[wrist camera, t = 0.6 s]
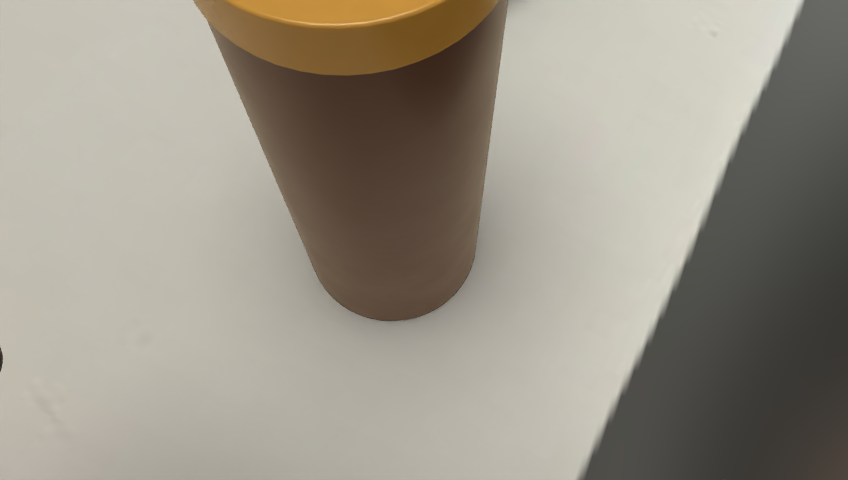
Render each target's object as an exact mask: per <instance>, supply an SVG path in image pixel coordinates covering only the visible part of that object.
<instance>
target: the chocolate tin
mask: <svg viewBox="0 0 848 480" xmlns="http://www.w3.org/2000/svg"><path fill="white" fill-rule="evenodd" d="M193 1H194V3H195V4H196V6H197V7H198V8H199V10H200V11H201V13H202V14H203V15H204V17H205V18H206V19H207V21H208V23H209V26H210V28H211V30H212V32H213V35H214V37H215V39H216V42H217V44H218V46H219V49H220V51H221V53H222V56H223V58H224V60H225V63H226V65H227V67H228V70H229V72H230V74H231V77H232V79H233V81H234V84H235V86H236V88H237V91H238V93H239V95H240V98H241V100H242V102H243V105H244V107H245V109H246V112H247V114H248V116H249V119H250V121H251V123H252V126H253V128H254V130H255V132H256V135H257V137H258V139H259V142H260V144H261V146H262V149H263V151H264V153H265V156H266V158H267V160H268V163H269V165H270V167H271V170H272V172H273V174H274V177H275V179H276V181H277V184H278V186H279V188H280V191H281V193H282V195H283V198H284V200H285V202H286V205H287V207H288V209H289V212H290V214H291V216H292V219H293V221H294V223H295V225H296V228H297V230H298V232H299V235H300V237H301V239H302V242H303V244H304V246H305V249H306V251H307V253H308V256H309V258H310V260H311V263H312V265H313V267H314V270H315V272H316V274H317V276H318V278H319V280H320V282H321V283H322V285H323V286H324V288H325V289H326V291H327V292H328V293H329V294H330V295H331V296H332V297H333V298H334V299H335V300H336V301H337V302H339V303H340V304H341V305H342V306H344V307H346V308H347V309H349V310H350V311H353V312H355V313H357V314H359V315H362V316H365V317H368V318H372V319H377V320H387V321H397V320H406V319H411V318H415V317H418V316H421V315H424V314H427V313H429V312H431V311H433V310H435V309H436V308H438V307H439V306H441V305H442V304H444V303H445V302H446V301H448V300H449V299H450V298H451V297H452V296H453V295H454V294H455V293H456V292H457V291H458V289H459V288H460V287H461V286H462V284H463V283H464V281H465V279H466V278H467V276H468V274H469V271H470V269H471V266H472V263H473V260H474V255H475V249H476V242H477V234H478V226H479V219H480V211H481V204H482V196H483V188H484V181H485V173H486V165H487V158H488V150H489V143H490V135H491V127H492V120H493V112H494V105H495V97H496V89H497V82H498V74H499V66H500V59H501V51H502V44H503V36H504V28H505V21H506V13H507V5H508V0H193Z"/></svg>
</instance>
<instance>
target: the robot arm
mask: <svg viewBox="0 0 848 480" xmlns="http://www.w3.org/2000/svg"><path fill="white" fill-rule="evenodd" d="M2 363H3V355H2V351H1V348H0V371H1V368H2Z"/></svg>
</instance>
